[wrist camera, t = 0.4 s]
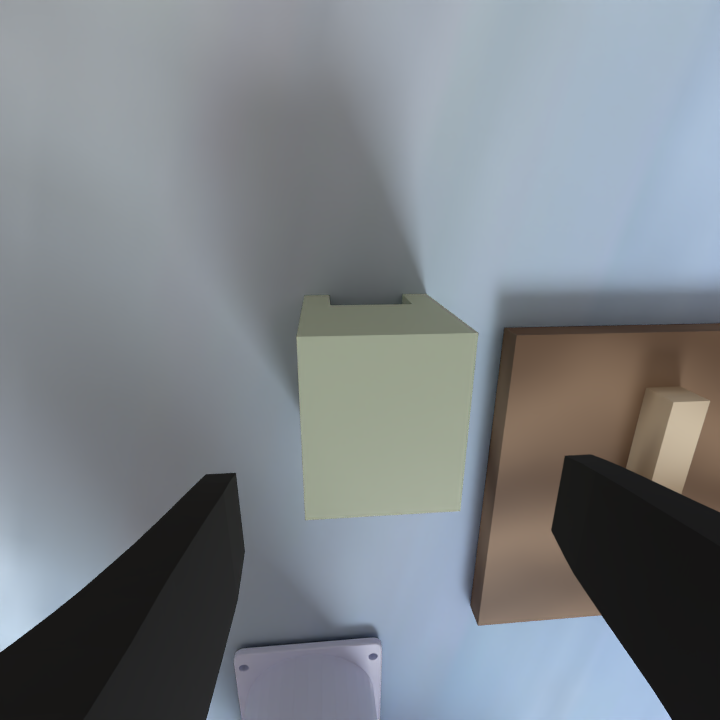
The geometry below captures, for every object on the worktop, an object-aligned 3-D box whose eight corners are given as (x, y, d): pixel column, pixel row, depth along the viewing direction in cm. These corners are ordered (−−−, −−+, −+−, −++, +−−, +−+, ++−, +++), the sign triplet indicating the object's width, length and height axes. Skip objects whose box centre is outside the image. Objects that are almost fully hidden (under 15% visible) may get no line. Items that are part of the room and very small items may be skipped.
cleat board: (702, 587, 24) (746, 630, 22) (470, 605, 23) (488, 653, 21) (798, 321, 19) (871, 338, 17) (504, 327, 18) (534, 346, 15)
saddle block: (418, 423, 19) (460, 511, 14) (309, 427, 19) (305, 520, 13) (426, 293, 17) (478, 332, 12) (304, 295, 17) (296, 337, 11)
